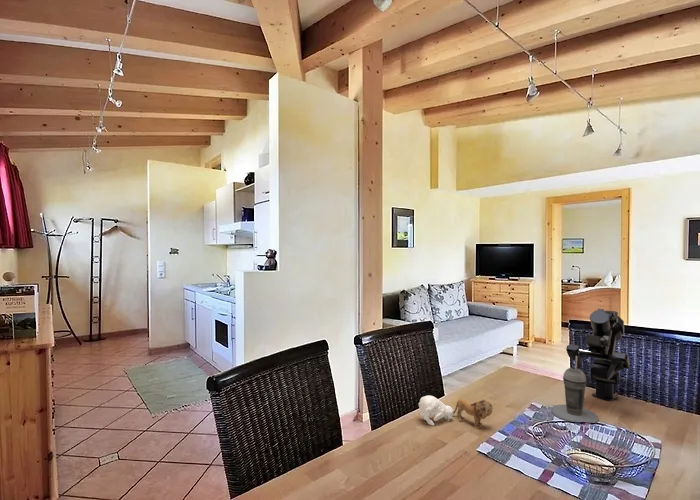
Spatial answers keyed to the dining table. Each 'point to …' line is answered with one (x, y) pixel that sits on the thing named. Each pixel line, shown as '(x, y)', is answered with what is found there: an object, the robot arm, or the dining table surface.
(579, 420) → the coaster
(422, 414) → the white rounded figure
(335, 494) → the dining table surface
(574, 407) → the beverage cup
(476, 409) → the lion figurine
